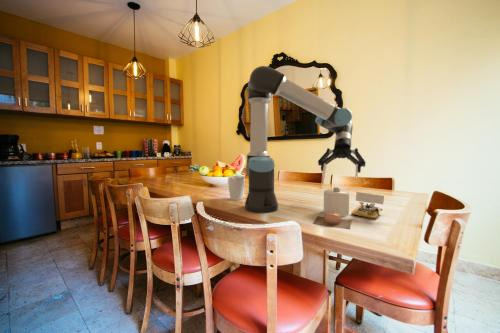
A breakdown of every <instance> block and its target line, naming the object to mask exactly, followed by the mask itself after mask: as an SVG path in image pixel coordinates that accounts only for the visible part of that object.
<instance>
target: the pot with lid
mask: <svg viewBox="0 0 500 333" xmlns="http://www.w3.org/2000/svg"><path fill="white" fill-rule="evenodd" d="M325 212H337V213H339V214H340V218H341V217H343V218H344V217H347V216H349V214H350V191H349V190H345V189H341V187H337V186H334V187H333V188H331V189H325V190H324V191H323V214H325Z"/></svg>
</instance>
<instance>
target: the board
mask: <svg viewBox="0 0 500 333" xmlns="http://www.w3.org/2000/svg"><path fill="white" fill-rule="evenodd" d="M312 225H316V226H323V227H331V228H338V229H346V230H351V225H352V220H351V219H343V218H340V224H337V225H333V224H328V223H325V216H321V215H317V216H316V218H315V219H314V221H313V223H312Z"/></svg>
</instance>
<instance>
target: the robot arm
mask: <svg viewBox="0 0 500 333" xmlns="http://www.w3.org/2000/svg"><path fill="white" fill-rule="evenodd" d="M247 82H248V83H247V91H248V92H247V93H248V95H247V96H248V102H249V103H250V136H249V137H250V140H249V141H250V142H249V144H250V145H249V151H248V153H247V154H246V166H245V173H246V175H247V177H248V193H247V197H246V199H245V202H244V210H245V211H248V212H252V213H263V214H265V213H273V212H275V211H277V210H279V203H278V199H277V196H276V193H275V167H276V166H275V160H274V159H273V157H271V156H270V155H271V154H269V152H268V127H269V121H268V119H269V104H271V102H272V96H280V97H282V98H284V99H286V100H287V101H289V102H291V103H293V104H295V105H296V106H299V107H300V108H302V109H304V110H306V111H307V112H310V113H312V114H313V115H315V116H316V117H315V123H316V124H317V125H318V126H319V127H322V128H324V129H325V130H328V131H330V132H331V133H333V134H334V135H335V138H334V146H333V149H330V148H329V147H328V148H327V149H326V151H325V153H324V154H323V155H322V156H321V157H320V158H319V159H318V160H317V164H318V166H320V171H321V172H322V179H325V178H326V171H327V170H326V169H327V165H328V164H329V163H331V162H332V161H334V160H336V159H347V160H349V161H350V162H351V163H352V164H354V165H355V179H354V180H358V174H359V173H361V172H362V167H364V168H365V167H366V161H365V159H364V158H363V156H362V155H361V154H360V153H359V149H358V148H357V147H356V148H354V149H352V136H353V135H352V134H353V121H352V118H353V114H352V111H351V110H350V109H349V108H347V107H338V106H337V105H334V104H333V103H332V102H331V103H330V102H329V101H327V100H326V99H323V98H322V97H320V96H318V95H317V94H315V93H313V92H311V91H309V90H307V89H306V88H303V87H302V86H300V85H298V84H297V83H295V82H293V81H292V80H289V79H287V78H286V74H283V73H282V72H280V71H278V70H276V69H274V68H272V67H270V66H266V65H260V66H257V67H255V68H254V69H253V70H252V71H251V74H250V75H249V80H248V81H247ZM352 154H353V155H354V156H353V155H352Z"/></svg>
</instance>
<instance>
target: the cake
mask: <svg viewBox="0 0 500 333" xmlns="http://www.w3.org/2000/svg"><path fill="white" fill-rule="evenodd" d="M384 199H385V195H380V194H379V195H378V194H374V193H373V194H372V193H369V192H368V193H367V192H359V191H356V194H355V201H356V202H359V204H360V205H359V206H357V207H356V208H354V209H353V210H352V211H351V215H356V216H359V217H364V218H368V219H377V218H378V216H379V214H380V212H382V211H383V208H380V207H378V206H375V205H376V204H378V205H384ZM365 203H366V204H365ZM368 203H369V204H368Z"/></svg>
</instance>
